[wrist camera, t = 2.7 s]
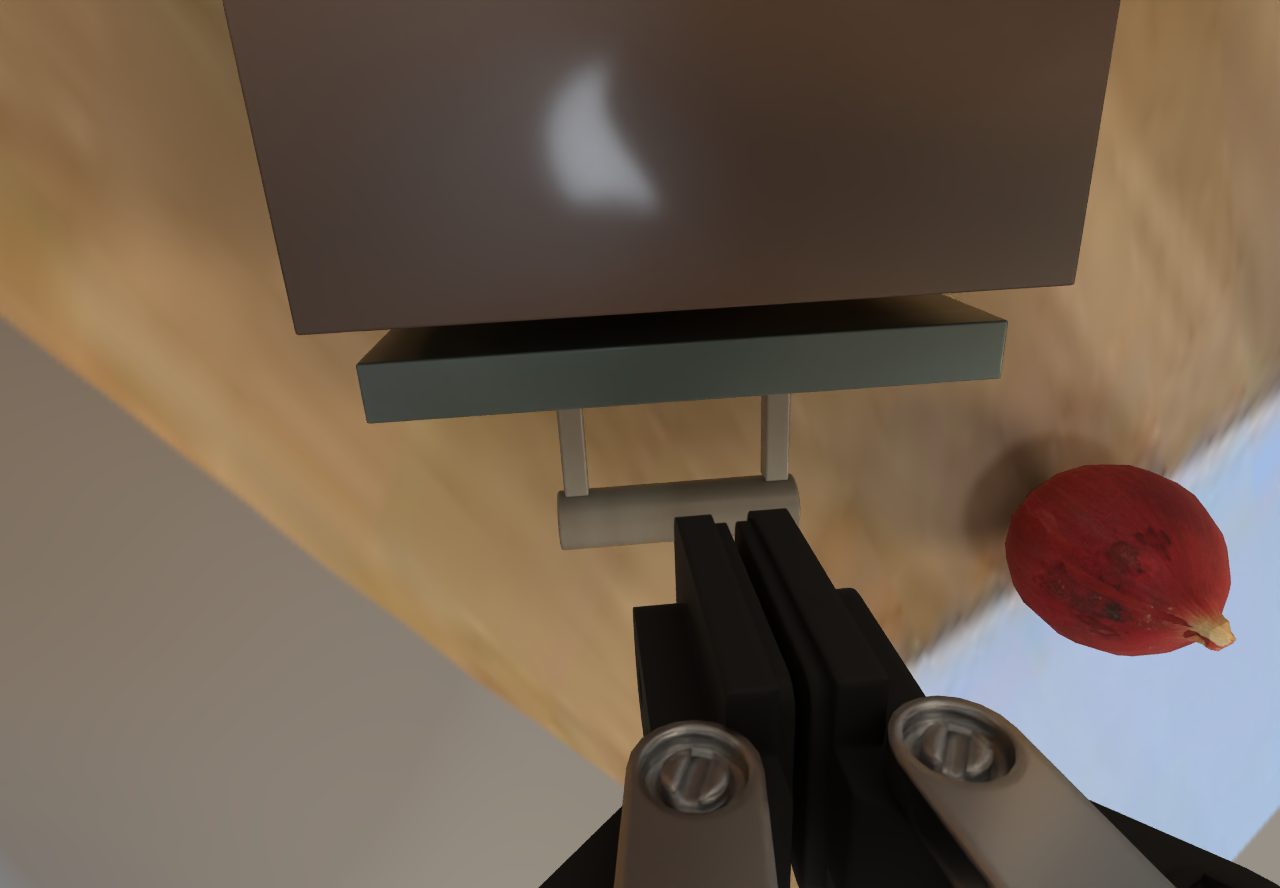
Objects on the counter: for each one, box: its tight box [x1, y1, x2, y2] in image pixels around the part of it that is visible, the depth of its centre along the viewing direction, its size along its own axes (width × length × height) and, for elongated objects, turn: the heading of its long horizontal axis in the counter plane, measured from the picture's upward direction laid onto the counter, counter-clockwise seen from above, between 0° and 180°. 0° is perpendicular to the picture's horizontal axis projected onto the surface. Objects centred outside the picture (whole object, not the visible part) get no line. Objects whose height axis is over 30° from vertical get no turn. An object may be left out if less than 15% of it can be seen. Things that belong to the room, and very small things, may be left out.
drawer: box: [356, 294, 1008, 550], centre depth 17 cm, size 19×13×8 cm, turn 3°
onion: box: [1005, 465, 1236, 656], centre depth 24 cm, size 6×6×8 cm
